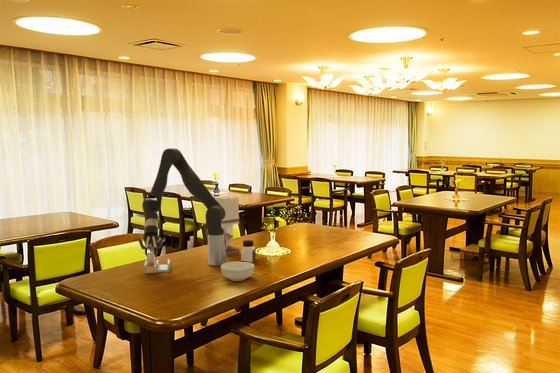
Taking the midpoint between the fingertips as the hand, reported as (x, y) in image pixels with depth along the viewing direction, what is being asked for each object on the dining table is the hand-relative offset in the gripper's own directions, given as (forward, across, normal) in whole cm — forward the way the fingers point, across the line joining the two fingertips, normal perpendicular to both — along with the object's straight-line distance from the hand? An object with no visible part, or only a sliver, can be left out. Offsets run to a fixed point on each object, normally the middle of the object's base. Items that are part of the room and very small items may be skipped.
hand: (150, 254), depth 245 cm
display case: (-18, +45, +31) cm, 58 cm away
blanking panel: (+2, 0, +7) cm, 7 cm away
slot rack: (+5, +3, +8) cm, 10 cm away
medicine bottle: (0, +55, +13) cm, 56 cm away
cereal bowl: (+24, +44, -12) cm, 51 cm away
